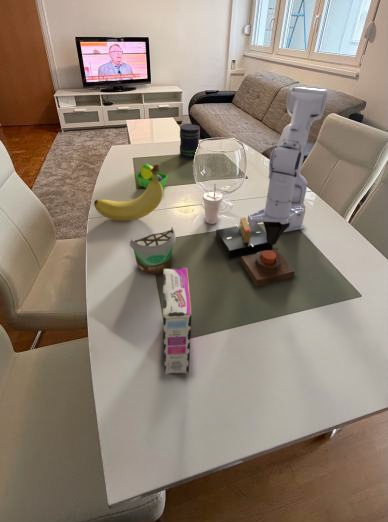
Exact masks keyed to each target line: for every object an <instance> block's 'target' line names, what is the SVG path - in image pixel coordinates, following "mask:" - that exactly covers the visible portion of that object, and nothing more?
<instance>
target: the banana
mask: <svg viewBox="0 0 388 522" xmlns="http://www.w3.org/2000/svg"><path fill="white" fill-rule="evenodd" d="M152 167H153V169H151V170H150V171H151V172H152V174H153V177H152V181H151V183H150V184H149V186H148V187H147V188H145V190H144V191H143V193H142V194H141V195H139V196H138V197H136V198H134V199H132V200H127V201H115V200H109V199H100V198H99V199H95V200H94V202H93V205H94V207H95V210H96V211H97V213H99V214H100V215H101V216H103V217H104V218H107V219H111V220H113V221H134V220H138V219H142V218H144V217H145V216H148V215H149V214H150V213H152V212H153V211H155V210H156V209H157V208H158V206H159V205H160V204H161V202H162V200H163V195H164V189H163V188H162V186H161V184H160V183H159V181H158V179H157V173H160V165H159V164H154V165H153V166H152Z"/></svg>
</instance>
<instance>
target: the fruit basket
mask: <svg viewBox="0 0 388 522" xmlns="http://www.w3.org/2000/svg"><path fill="white" fill-rule="evenodd" d="M153 167H154V166H152V165H150V164H149V163H144V164H143V165H141V167H140V171H139V172H138V173H136V174H135V178H136V180H137V182H138V184H139V187H142V188H145V189H147V187H148V186H149V184H150V183H151V181H152V177H153V174H152V172H151V171H150V170H151V169H153ZM168 177H169V176H168V175H167V174H165V173H161V172H158V173H157V179H158V181H159V183H160V184H161V186H162V188H165V186H166V182H167V180H168Z"/></svg>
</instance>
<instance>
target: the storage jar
mask: <svg viewBox="0 0 388 522" xmlns="http://www.w3.org/2000/svg"><path fill="white" fill-rule="evenodd" d="M200 137H201V127H200V125H198V124H194V123H184V124H181V125H180V126H179V138H180V144H179V157H180V158H182V159H184V160H195V159H194V155H195V152H196V149H197V147H198V144H199V145H200Z"/></svg>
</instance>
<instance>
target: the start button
mask: <svg viewBox="0 0 388 522" xmlns="http://www.w3.org/2000/svg"><path fill="white" fill-rule="evenodd" d="M261 259H262V261H263V262H264V263H266V264H273V263H275V259H276V254H275V253H274V252H273V251H271V250H265V251H263V253H262V257H261Z"/></svg>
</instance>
